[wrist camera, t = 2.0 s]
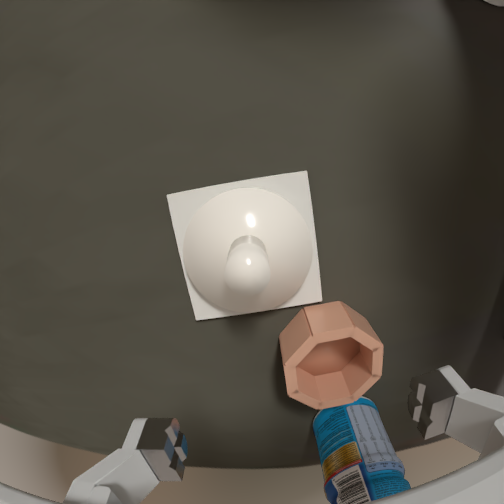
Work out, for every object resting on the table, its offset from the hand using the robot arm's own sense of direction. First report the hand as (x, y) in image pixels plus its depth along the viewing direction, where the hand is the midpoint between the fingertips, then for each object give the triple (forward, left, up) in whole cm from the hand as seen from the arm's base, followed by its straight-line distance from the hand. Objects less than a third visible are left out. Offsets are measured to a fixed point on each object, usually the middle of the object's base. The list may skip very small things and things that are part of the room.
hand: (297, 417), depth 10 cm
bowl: (+11, +4, -20) cm, 23 cm away
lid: (0, -2, -19) cm, 19 cm away
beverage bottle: (+23, +6, -20) cm, 31 cm away
